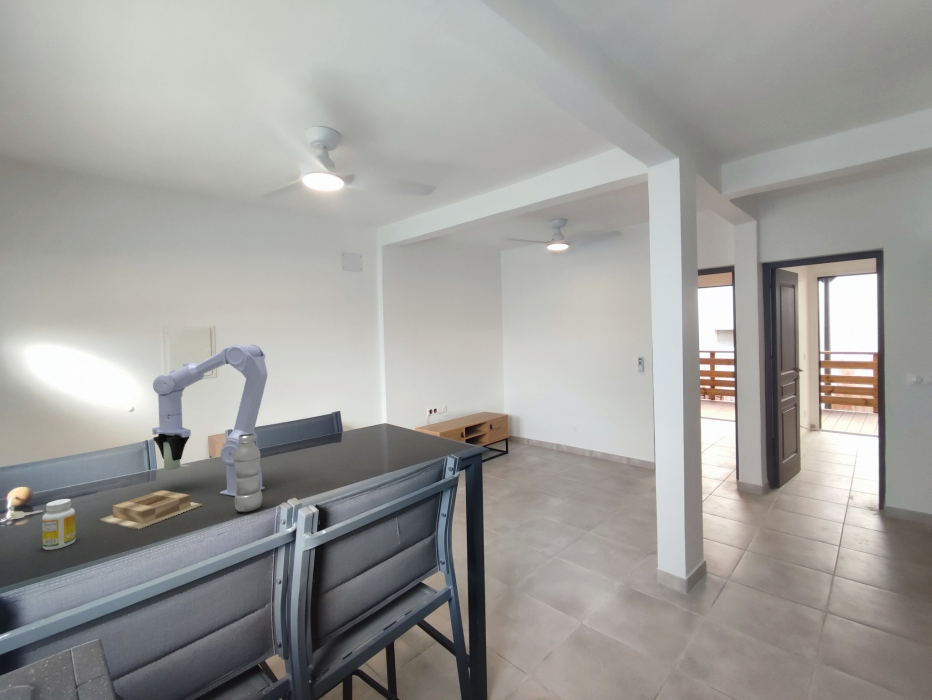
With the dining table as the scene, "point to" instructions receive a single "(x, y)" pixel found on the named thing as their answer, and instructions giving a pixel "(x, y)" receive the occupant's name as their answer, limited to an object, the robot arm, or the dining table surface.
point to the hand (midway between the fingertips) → (172, 459)
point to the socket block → (150, 509)
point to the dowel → (169, 458)
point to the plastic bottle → (247, 474)
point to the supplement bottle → (58, 525)
